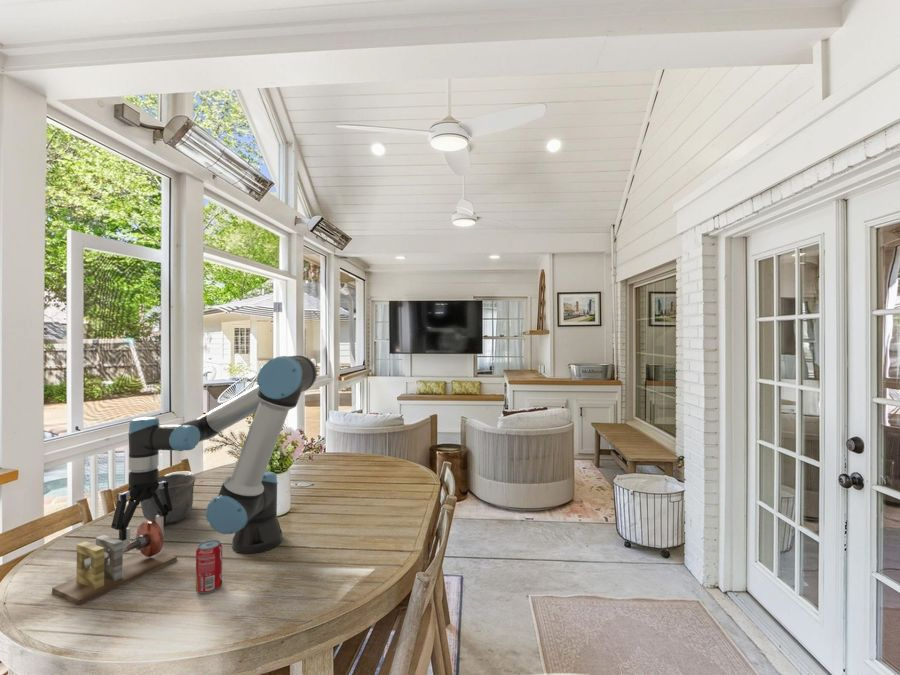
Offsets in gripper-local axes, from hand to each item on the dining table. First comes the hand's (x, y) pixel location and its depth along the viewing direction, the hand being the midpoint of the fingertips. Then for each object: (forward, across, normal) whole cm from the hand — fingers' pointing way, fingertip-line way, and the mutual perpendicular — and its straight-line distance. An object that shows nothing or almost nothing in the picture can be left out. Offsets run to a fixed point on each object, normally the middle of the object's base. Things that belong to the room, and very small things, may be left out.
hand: (143, 543), depth 136 cm
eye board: (+5, +8, +3) cm, 10 cm away
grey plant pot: (+5, -21, -22) cm, 31 cm away
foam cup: (+5, -32, -32) cm, 45 cm away
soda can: (+5, +2, +32) cm, 33 cm away
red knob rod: (+3, +8, +3) cm, 9 cm away
